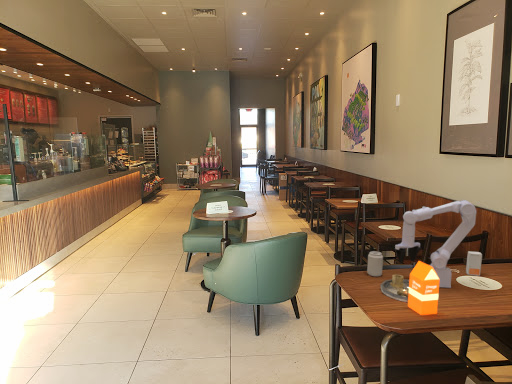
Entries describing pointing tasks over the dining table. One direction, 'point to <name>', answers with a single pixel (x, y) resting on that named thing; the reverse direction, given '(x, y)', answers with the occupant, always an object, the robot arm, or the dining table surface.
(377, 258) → the can
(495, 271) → the dining table surface
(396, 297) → the carrier
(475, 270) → the skincare box
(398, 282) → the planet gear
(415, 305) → the orange juice
